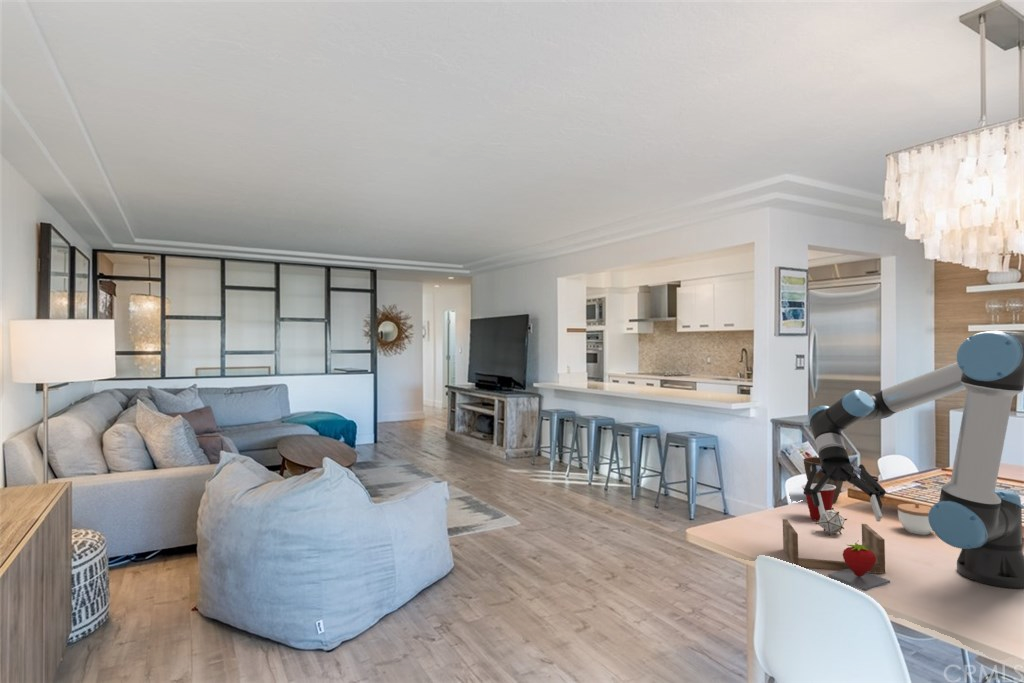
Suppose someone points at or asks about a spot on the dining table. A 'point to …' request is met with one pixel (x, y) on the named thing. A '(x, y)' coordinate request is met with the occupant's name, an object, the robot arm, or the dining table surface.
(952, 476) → the robot arm
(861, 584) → the pad
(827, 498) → the plastic cup
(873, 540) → the wooden crossbar stand
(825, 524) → the game die
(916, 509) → the lidded jar
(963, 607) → the dining table surface
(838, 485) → the plant pot
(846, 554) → the strawberry
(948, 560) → the dining table surface
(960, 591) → the dining table surface
